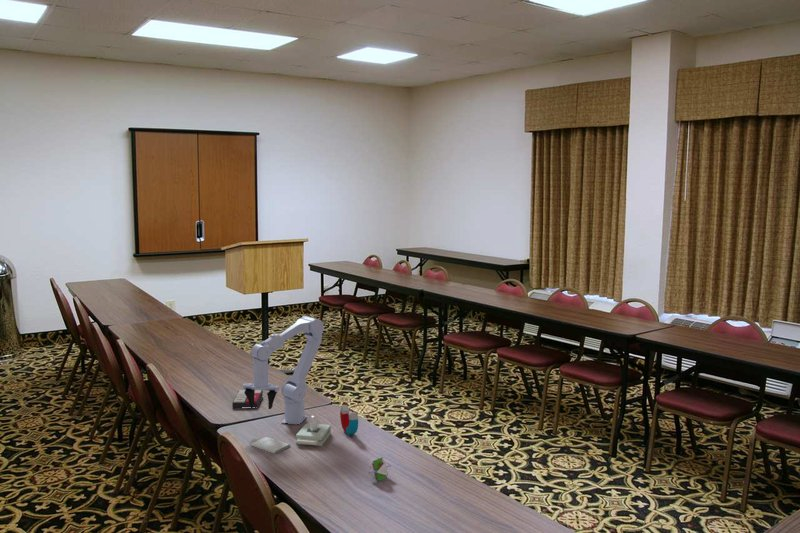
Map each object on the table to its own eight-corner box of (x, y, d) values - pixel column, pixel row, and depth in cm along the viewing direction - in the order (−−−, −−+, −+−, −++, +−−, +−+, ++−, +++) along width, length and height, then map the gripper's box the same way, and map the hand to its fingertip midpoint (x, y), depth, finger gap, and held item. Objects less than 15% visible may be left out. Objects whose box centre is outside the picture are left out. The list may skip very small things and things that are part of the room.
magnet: (358, 437, 243) (358, 413, 242) (352, 439, 242) (352, 414, 240) (346, 427, 253) (346, 403, 252) (340, 428, 252) (339, 405, 251)
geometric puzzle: (361, 470, 211) (371, 456, 207) (376, 464, 216) (386, 450, 211) (373, 488, 207) (383, 474, 203) (388, 481, 212) (398, 468, 208)
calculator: (232, 401, 273) (238, 388, 287) (232, 410, 273) (238, 397, 288) (257, 401, 273) (262, 388, 288) (257, 410, 274) (262, 397, 289)
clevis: (306, 431, 248) (306, 423, 248) (330, 433, 247) (330, 425, 246) (294, 446, 235) (294, 436, 234) (319, 448, 233) (319, 439, 233)
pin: (311, 437, 243) (310, 414, 242) (318, 437, 243) (318, 415, 242) (308, 440, 240) (308, 417, 239) (316, 440, 240) (315, 418, 239)
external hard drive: (274, 455, 228) (250, 447, 235) (290, 447, 235) (266, 440, 241) (274, 451, 228) (250, 443, 234) (290, 443, 234) (266, 436, 241)
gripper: (239, 376, 244) (240, 409, 246) (274, 378, 242) (274, 412, 243) (246, 371, 251) (247, 403, 253) (280, 373, 248) (281, 406, 250)
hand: (261, 407), depth 248 cm, fingers open, 7 cm apart
